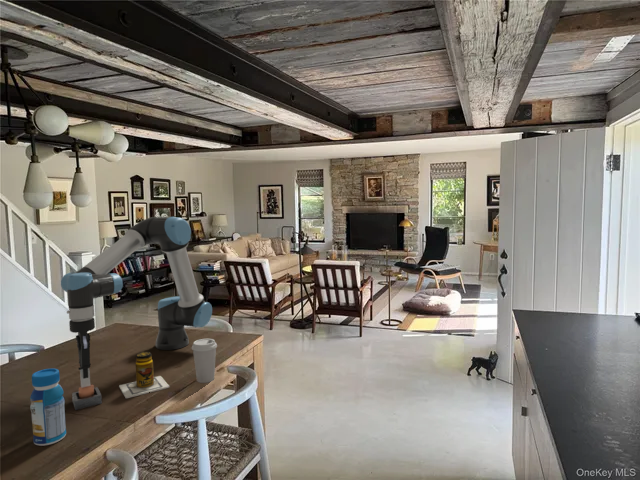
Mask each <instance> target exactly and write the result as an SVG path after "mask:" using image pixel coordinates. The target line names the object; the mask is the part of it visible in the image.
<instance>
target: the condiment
mask: <svg viewBox="0 0 640 480" xmlns="http://www.w3.org/2000/svg"><path fill="white" fill-rule="evenodd" d="M135 356H136V357H135V378H136V379H135V382H136V383H134V384H132V385H130V386H128V387H132V388H137V389H144V390H146V389H148V388H150V387H152V386H153V385H155V384H157V383H158V382H159V381H154V377H155V375H154V374H155V373H154V361H153V359H152V353H151V352H150V351H143V352H139V353H137V354H136V355H135Z"/></svg>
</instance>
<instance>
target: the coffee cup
mask: <svg viewBox="0 0 640 480" xmlns="http://www.w3.org/2000/svg"><path fill="white" fill-rule="evenodd" d="M217 347H218V344H217V342H216V341H215V339H214V338H202V339H201V338H200V339H197V340H195V341H193V344H192V346H191V350H192V353H193V359H194V361H193V362H194V367H195V368H194V369H195V376H196V382H198V383H200V384H208V383H211V382H213V381H214V380H215V376H216V375H215V373H216V372H215V371H216V369H215V368H216V354H217V351H216V350H217Z"/></svg>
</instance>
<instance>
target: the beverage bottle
mask: <svg viewBox="0 0 640 480" xmlns="http://www.w3.org/2000/svg"><path fill="white" fill-rule="evenodd" d="M60 378H61V377H60V371H59V369H58V368H52V367H51V368H45V369H41V370H38V371H35V372H33V373H32V375H31V385H32V387H33V390H32V392H31V394H30V397H29V400H30V402H31V403H30V405H29V406H30V408H29V409H30V412H31V414H30V415H31V423H32V425H31V426H32V436H33V437H32V438H33V439H32V441H33V442H32V443H33V444H34V445H36V446H40V447H42V446H44V447H46V446H50V445H53V444H56V443H58V442H60V441H61V440H63V439H64V438H65V437H66V435H67V427H66V412H65V410H66V409H65V403H66V401H65V397H64V394H65V393H64V392H65V391H64V389H63V387H62V386H61V384H59V382H60Z"/></svg>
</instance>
